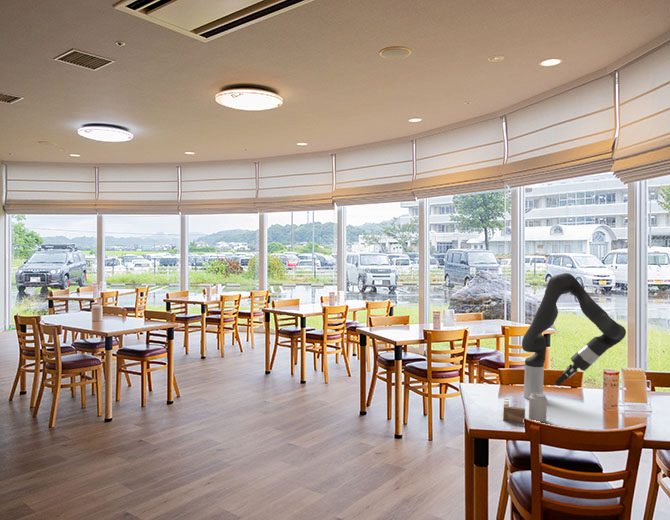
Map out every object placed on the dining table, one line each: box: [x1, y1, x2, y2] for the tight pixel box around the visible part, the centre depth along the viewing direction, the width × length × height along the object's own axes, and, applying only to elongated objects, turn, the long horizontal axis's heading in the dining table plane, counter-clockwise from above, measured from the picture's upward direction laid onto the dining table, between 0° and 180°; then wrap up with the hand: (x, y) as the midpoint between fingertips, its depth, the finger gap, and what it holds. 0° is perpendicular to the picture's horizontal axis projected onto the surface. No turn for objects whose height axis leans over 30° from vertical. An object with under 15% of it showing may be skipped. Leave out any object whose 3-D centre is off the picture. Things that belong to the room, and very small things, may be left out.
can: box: [528, 393, 548, 423], centre depth 229 cm, size 8×8×12 cm
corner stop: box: [502, 398, 526, 424], centre depth 232 cm, size 14×9×7 cm, turn 160°
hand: (558, 382), depth 224 cm, fingers open, 8 cm apart
